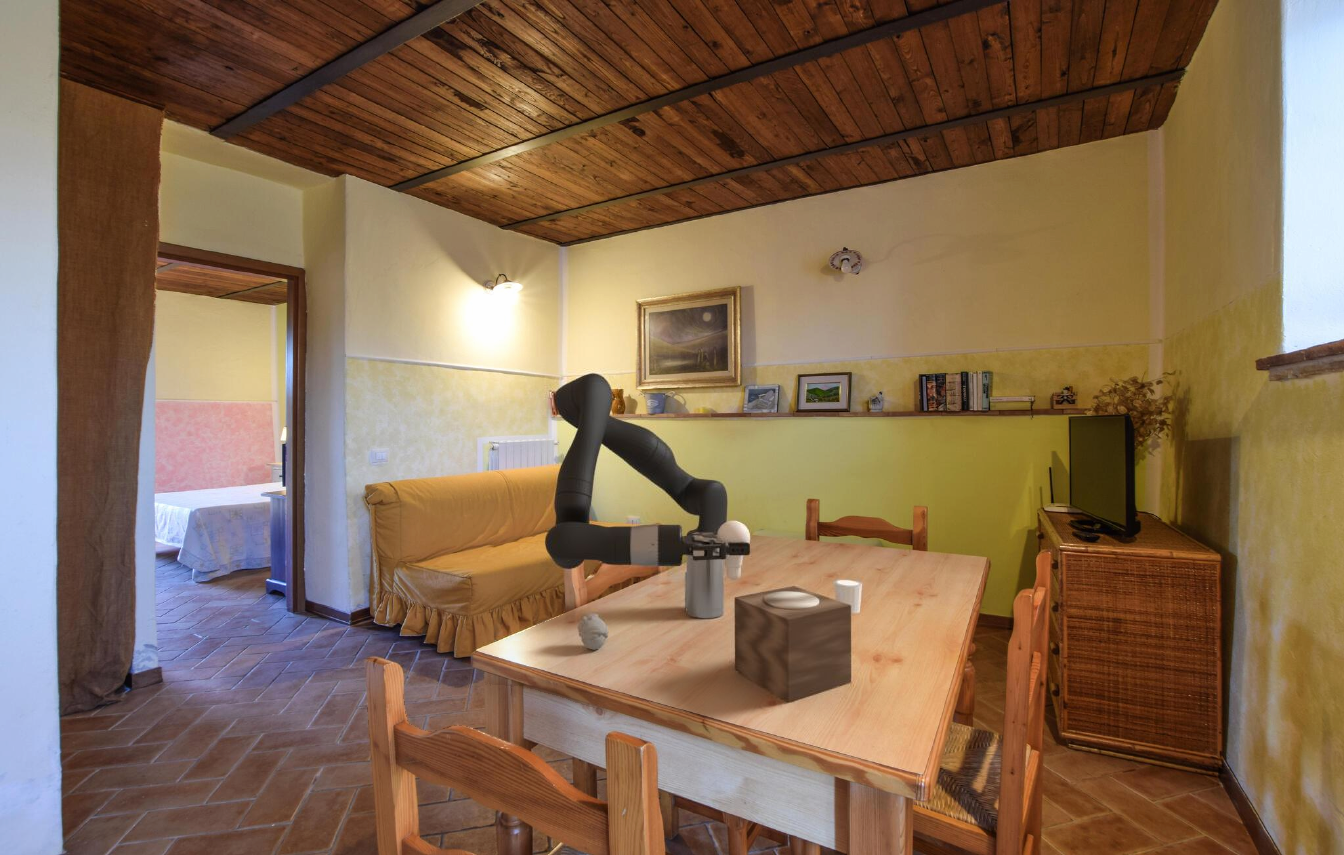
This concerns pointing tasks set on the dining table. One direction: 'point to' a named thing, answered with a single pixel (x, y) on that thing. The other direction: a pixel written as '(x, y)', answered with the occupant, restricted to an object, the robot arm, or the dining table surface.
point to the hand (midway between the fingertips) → (747, 544)
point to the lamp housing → (793, 641)
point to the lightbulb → (733, 533)
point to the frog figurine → (592, 631)
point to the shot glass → (849, 593)
